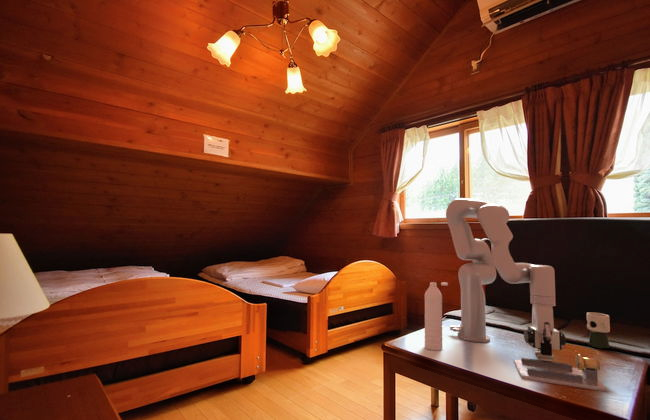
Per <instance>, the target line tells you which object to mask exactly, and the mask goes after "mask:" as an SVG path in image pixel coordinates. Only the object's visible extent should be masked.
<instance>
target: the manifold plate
mask: <svg viewBox="0 0 650 420" xmlns="http://www.w3.org/2000/svg"><path fill="white" fill-rule="evenodd" d="M574 359H575V360H574V361H575V365H576V367H573V365H572V364H571V363H566V362H565V363H564V362H558V361H553V362H551V361H543V360H540V359H537V358H536V359H534V358H528V357H527V358H526V357H521V358H520V359H513V364H514V365H515V368H516V370H517V372H518V374H519V376H520V378H521V380H522V379H523V380H529V381H535V382H536V381H537V382H542V383H549V384H554V385H555V384H556V385H562V386H569V387H575V388H581V389H589V390H595V391H601V392H607V386H605V385H604V384H603V383H602V382H601V381H600V380H599V379H598V371H600V370H601V363H600V360H599V358H592V357H583V355H582V354H581V353H576V354H575V358H574Z"/></svg>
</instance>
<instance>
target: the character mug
mask: <svg viewBox="0 0 650 420" xmlns="http://www.w3.org/2000/svg"><path fill="white" fill-rule="evenodd" d="M586 321H587V323H586V328H587V330H589V331H590V332H589V338H588V345H589V346H591V347H593V348H598V349H601V350H603V349H610V343H609V338H608V334H607V333H610V331H611V325H610V322H611V321H610V315H609V314H605V313H601V312H594V311H593V312H586Z"/></svg>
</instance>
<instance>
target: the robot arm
mask: <svg viewBox="0 0 650 420" xmlns="http://www.w3.org/2000/svg"><path fill="white" fill-rule="evenodd" d="M466 218H467V219H478V222H479V224H480V226H481V227H482V229H483V231H484V233H485V235H486V237H487V238H488V240H489V242H490V244H491V245H490V247H491V248H490V247H489V246H488V244H487V242H485V241H484V240H482V239H480V238H474V235H473V233H472V229H471V226H470V225H469V224H470V223H468V222H467V221H466ZM445 219H446V223H447V226H448V228H449V231H450V235H451V238H452V242H453V246H454V249H455V250H454V251H455V253H456V256H457V257H458V259H460V260H462V261H472V262H469V263H468V262H466V263H465V264H463V265H461V266H460V267H459V269H458V271H457V272H458V274H457V275H458V281H459V287H460V310H461V311H460V312H461V313H460V314H461V315H460V325H457V326H456V325H450V326H449V330H450V331H452V332H457V337H458V338H459V339H461V340H464V341H467V342H473V343H487V342H490V340H491V337H490V336H489V335H488V334H487V329H486V328H487V327H486V324H487V323H486V322H487V321H486V318H487V315H486V294H485V290H484V287H483V286H484V285H489V284H493V283H494V281H495V280H496V279H497V273H498V274H499V277H501V279H502V280H503V281H505V282H506V283H508V284H512V285H514V284H515V285H516V284H525V283H529V293H530V294H529V295H530V296H529V298H530V300H529V301H530V304H531V305H532V307H531V308H532V309H531V327H534V328H535V329H536V330H537V333H538V334H540V333H541V341H542V343H541V348H536V350H537V349H541V354H542V355H548V356H552V353H553V349H552V342H551V335H553V334H554V328H555V324H554V309H553V307H555V306H556V279H555V278H556V276H555V274H556V273H555V268H554V267H553V266H551V265H546V264H544V265H543V264H532V263H528V262H515V261H514V259H513V257H512V256H511V253H510V249H509V245H510V242H511V241H512V240H513V238H514V235H513V233H512V231H511V229H510V228H509V226H508V225H507V223H508V222H509V221H510V213H509V211H508V209H507V208H506V207H504V206H503V205H498V204H494V203H491V202H487V201H484V200H480V199H474V198H465V197H464V198H463V197H461V198H455V199H453V200H451V202H449V204H448V206H447V207H446V210H445ZM550 330H551V331H552V333H550ZM543 332H545V333H546V334H543ZM544 336H546V337H544Z"/></svg>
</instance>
